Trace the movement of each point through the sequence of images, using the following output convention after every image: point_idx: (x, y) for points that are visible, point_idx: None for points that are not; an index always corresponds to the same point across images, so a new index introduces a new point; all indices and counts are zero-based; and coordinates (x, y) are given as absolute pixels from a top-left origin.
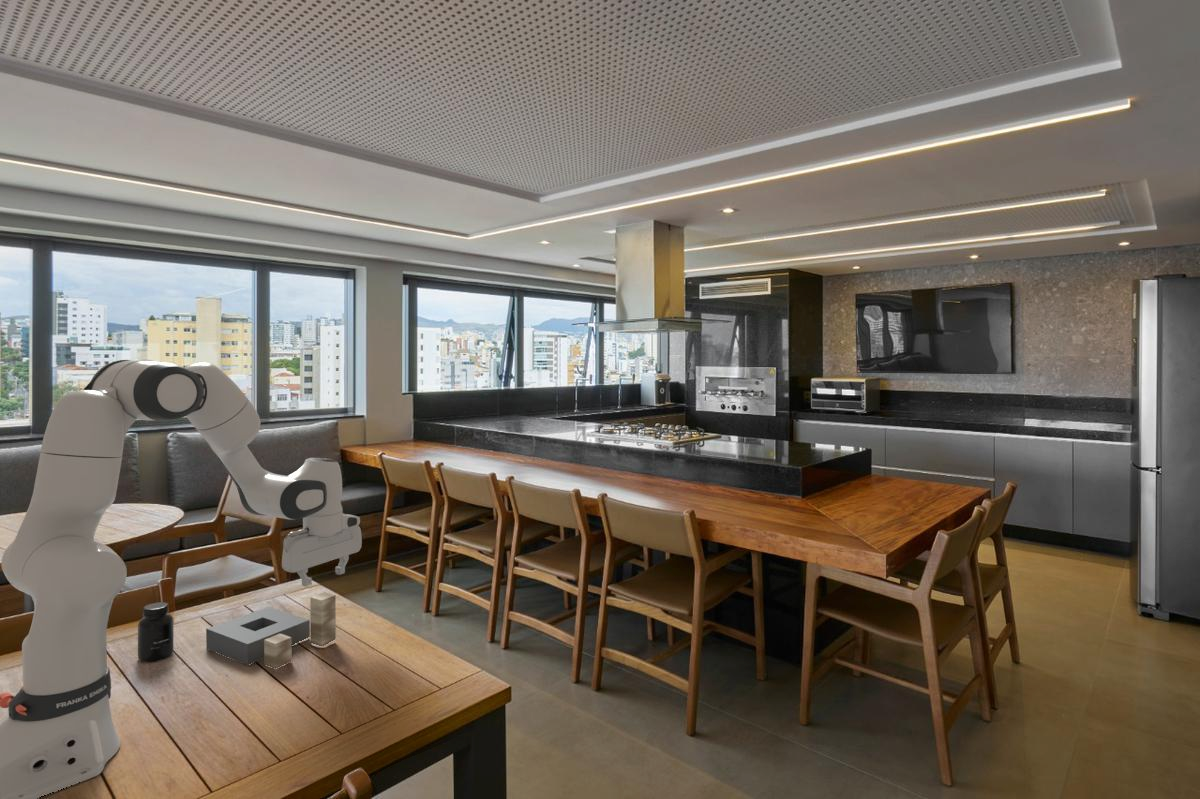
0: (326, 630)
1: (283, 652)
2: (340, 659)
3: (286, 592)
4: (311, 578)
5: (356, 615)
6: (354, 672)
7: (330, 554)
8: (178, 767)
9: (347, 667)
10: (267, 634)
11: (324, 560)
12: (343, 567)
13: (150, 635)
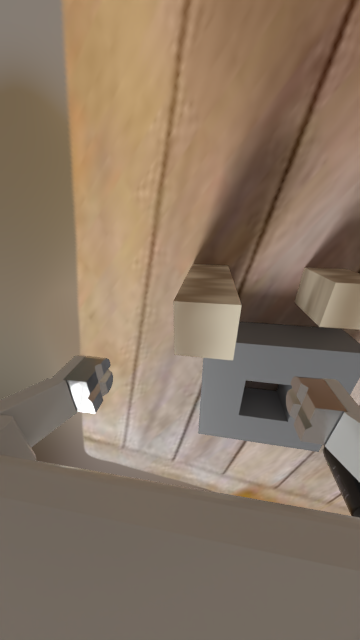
0: (215, 273)
1: (343, 275)
2: (250, 177)
3: (118, 448)
4: (315, 406)
5: (94, 325)
6: (305, 46)
7: (117, 635)
8: None
9: (283, 108)
10: (308, 356)
11: (249, 541)
12: (63, 376)
13: None
